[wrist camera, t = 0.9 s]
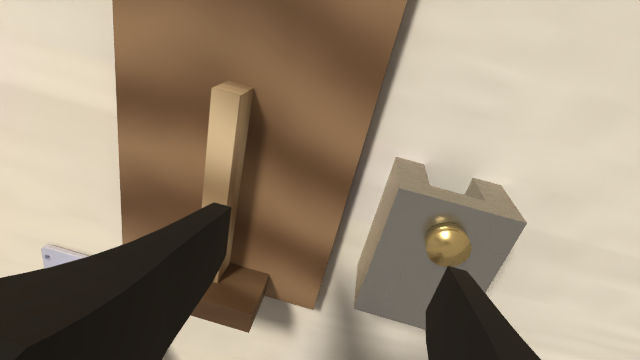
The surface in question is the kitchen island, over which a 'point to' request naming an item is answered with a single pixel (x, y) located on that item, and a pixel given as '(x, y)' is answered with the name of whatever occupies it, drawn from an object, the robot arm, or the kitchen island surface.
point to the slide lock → (431, 241)
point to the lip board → (248, 130)
